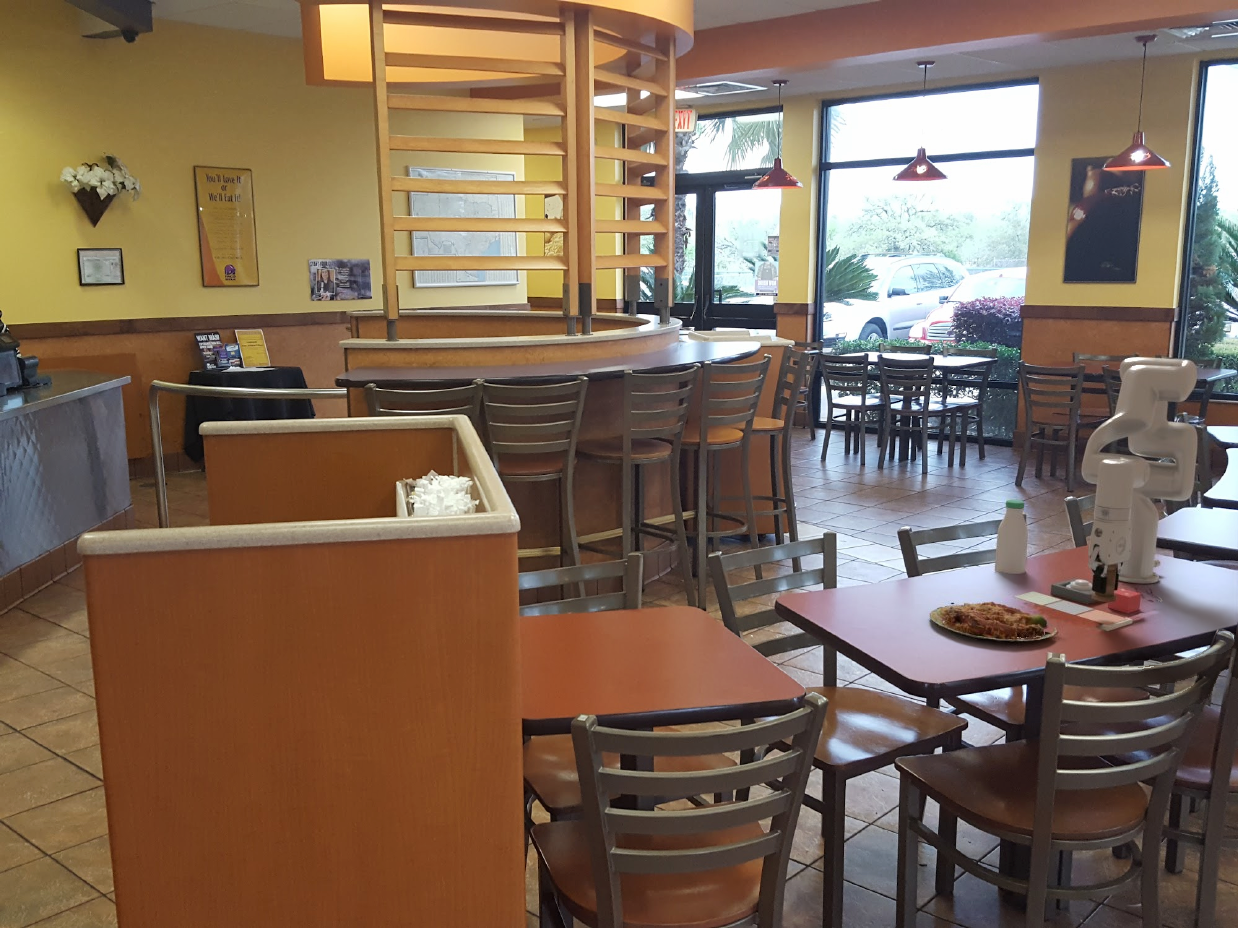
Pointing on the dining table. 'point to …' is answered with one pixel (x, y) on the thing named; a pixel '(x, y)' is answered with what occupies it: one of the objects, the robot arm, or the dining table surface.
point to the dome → (1081, 585)
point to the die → (1126, 601)
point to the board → (1078, 610)
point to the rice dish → (991, 621)
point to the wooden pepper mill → (1109, 594)
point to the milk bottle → (1012, 540)
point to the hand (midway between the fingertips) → (1104, 589)
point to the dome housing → (1071, 592)
